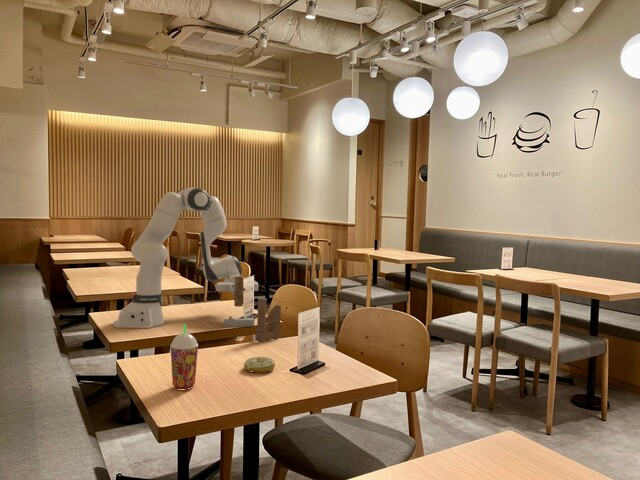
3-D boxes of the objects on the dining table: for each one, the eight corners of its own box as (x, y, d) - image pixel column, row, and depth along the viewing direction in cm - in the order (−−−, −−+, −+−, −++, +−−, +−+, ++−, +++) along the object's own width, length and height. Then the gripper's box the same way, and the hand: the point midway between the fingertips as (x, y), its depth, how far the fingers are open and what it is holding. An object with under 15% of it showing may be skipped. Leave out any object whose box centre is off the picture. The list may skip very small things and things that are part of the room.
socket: (224, 326, 248) (224, 320, 247) (222, 322, 256) (222, 316, 256) (254, 325, 251) (254, 319, 251) (251, 321, 260) (251, 315, 259)
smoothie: (165, 387, 167) (165, 323, 165) (188, 381, 172) (189, 320, 171) (178, 394, 161) (179, 329, 159) (202, 388, 167) (203, 325, 165)
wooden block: (280, 338, 230) (281, 297, 229) (260, 342, 223) (261, 299, 222) (274, 336, 233) (276, 295, 232) (254, 340, 226) (255, 298, 225)
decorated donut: (242, 366, 191) (242, 356, 190) (271, 364, 194) (271, 354, 193) (246, 375, 181) (246, 364, 180) (277, 373, 184) (277, 362, 183)
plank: (235, 306, 252) (235, 277, 251) (234, 304, 256) (234, 276, 255) (242, 306, 253) (243, 277, 252) (241, 304, 257) (242, 275, 256)
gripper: (214, 278, 263) (216, 283, 250) (255, 278, 269) (260, 282, 256) (214, 291, 264) (216, 296, 250) (255, 290, 269) (259, 295, 256)
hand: (238, 289), depth 253 cm, fingers closed on plank, 3 cm apart
